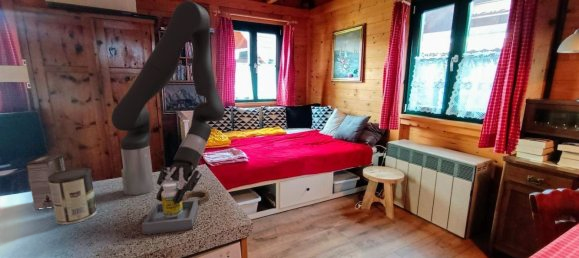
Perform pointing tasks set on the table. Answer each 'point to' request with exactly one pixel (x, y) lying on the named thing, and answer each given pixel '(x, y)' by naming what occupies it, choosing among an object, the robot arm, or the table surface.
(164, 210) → the supplement bottle
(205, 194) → the holder ring
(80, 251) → the table surface
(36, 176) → the coffee box
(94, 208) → the coffee can
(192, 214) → the tray
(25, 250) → the table surface
